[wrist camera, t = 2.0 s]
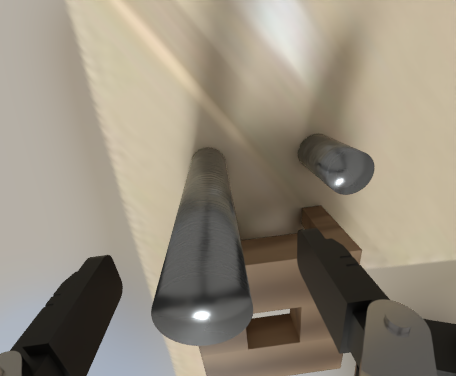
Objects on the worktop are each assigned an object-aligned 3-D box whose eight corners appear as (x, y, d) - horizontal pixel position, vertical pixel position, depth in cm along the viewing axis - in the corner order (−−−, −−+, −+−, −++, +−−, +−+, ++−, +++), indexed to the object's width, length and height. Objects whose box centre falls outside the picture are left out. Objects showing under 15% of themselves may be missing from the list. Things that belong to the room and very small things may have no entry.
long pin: (188, 149, 20) (139, 284, 6) (223, 145, 20) (250, 270, 6) (194, 182, 21) (163, 351, 8) (227, 178, 21) (256, 338, 8)
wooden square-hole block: (188, 222, 23) (179, 274, 17) (321, 205, 23) (362, 250, 17) (209, 322, 30) (209, 386, 23) (313, 308, 30) (340, 368, 24)
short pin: (298, 136, 20) (330, 154, 15) (333, 131, 20) (378, 148, 15) (297, 169, 22) (326, 197, 16) (330, 165, 22) (370, 191, 16)
